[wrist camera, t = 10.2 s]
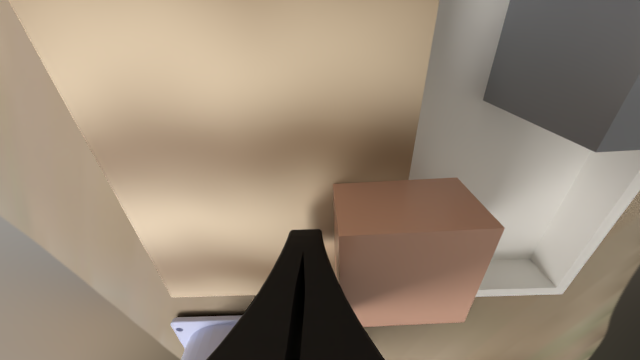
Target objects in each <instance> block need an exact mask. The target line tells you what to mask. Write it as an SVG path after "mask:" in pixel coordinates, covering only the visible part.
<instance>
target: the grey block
mask: <svg viewBox="0 0 640 360" xmlns="http://www.w3.org/2000/svg"><path fill="white" fill-rule="evenodd" d="M483 101H485V102H487V103H490V104H492V105H494V106H496V107H498V108H501V109H503V110H505V111H507V112H509V113H511V114H514V115H516V116H518V117H520V118H522V119H524V120H527V121H529V122H531V123H533V124H535V125H537V126H540V127H542V128H544V129H546V130H548V131H550V132H553V133H555V134H557V135H559V136H561V137H563V138H566V139H568V140H570V141H572V142H574V143H576V144H579V145H581V146H583V147H585V148H587V149H589V150H592V151H594V152H612V151H630V150H640V0H510V2H509V5H508V9H507V13H506V16H505V20H504V24H503V27H502V31H501V35H500V39H499V42H498V46H497V50H496V53H495V57H494V61H493V64H492V68H491V72H490V75H489V79H488V83H487V87H486V90H485V94H484V98H483Z"/></svg>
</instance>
